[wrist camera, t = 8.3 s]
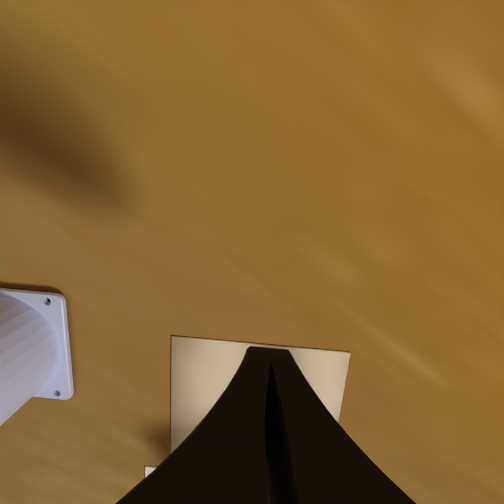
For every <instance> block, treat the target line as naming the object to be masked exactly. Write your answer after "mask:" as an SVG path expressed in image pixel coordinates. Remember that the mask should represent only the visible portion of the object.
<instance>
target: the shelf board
mask: <svg viewBox="0 0 504 504" xmlns="http://www.w3.org/2000/svg"><path fill="white" fill-rule="evenodd" d="M250 346H257V347H267V348H277V349H288V350H289V351H290V353H291V354H292V356H293V358H294V360H295V361H296V363H297V365H298V366H299V368H300V370H301V371H302V373H303V375H304V376H305V378H306V379H307V381H308V382H309V384H310V385H311V387H312V388H313V390H314V391H315V393H316V394H317V396H318V397H319V398H320V400H321V401H322V403H323V404H324V405H325V407H326V408H327V409H328V411H329V412H330V413H331V415H332V416H333V417H334V418H335V420H336V421H337V422H338V419H339V414H340V408H341V403H342V397H343V392H344V386H345V381H346V375H347V369H348V364H349V358H350V352H344V351H333V350H322V349H311V348H301V347H290V346H279V345H268V344H258V343H247V342H236V341H225V340H215V339H204V338H193V337H182V336H172V353H171V453H172V452H173V451H174V450H175V449H176V448H177V447H178V446H179V445H180V444H181V443H182V442H183V441H184V440H185V439H186V438H187V437H188V435H189V434H190V433H191V432H192V431H193V430H194V429H195V428H196V426H197V425H198V424H199V423H200V422H201V421H202V419H203V418H204V417H205V416H206V415H207V413H208V412H209V411H210V410H211V408H212V407H213V406H214V404H215V403H216V401H217V400H218V399H219V397H220V396H221V395H222V393H223V392H224V390H225V389H226V388H227V386H228V384H229V383H230V381H231V380H232V378H233V376H234V375H235V373H236V371H237V370H238V368H239V366H240V364H241V362H242V360H243V358H244V355H245V353H246V349H247V348H248V347H250Z"/></svg>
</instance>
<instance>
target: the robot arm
mask: <svg viewBox="0 0 504 504" xmlns="http://www.w3.org/2000/svg"><path fill="white" fill-rule="evenodd" d="M47 298H48V299H49V300H50V301H51V303H50V302H49V301H48V299H47ZM73 393H74V388H73V377H72V366H71V355H70V344H69V333H68V322H67V311H66V301H65V298H64V296H63V295H61V294H59V293H51V292H39V291H28V290H17V289H6V288H0V426H1V425H2V424H3V423H4V422H5V421H6V420H7V419H8V418H9V417H11V416H12V415H13V414H14V413H15V412H16V411H17V410H18V409H19V408H20V407H21V406H23V405H24V404H25V403H26V402H27V401H28V400H29V399H30V398H31V397H32V396H34V397H44V398H54V399H64V400H66V399H69V398H70V397H71V396H72V395H73ZM116 504H416V503H415V502H414V501H413V500H412V499H410V498H409V497H408V496H407V495H406V494H405V493H404V492H403V491H402V490H401V489H400V488H399V487H398V486H397V485H396V484H395V483H394V482H393V481H392V480H391V479H390V478H388V477H387V476H386V475H385V474H384V473H383V472H382V471H381V470H380V469H379V468H378V467H377V466H376V465H375V464H374V463H373V462H372V461H371V460H370V459H369V458H368V456H367V455H366V454H365V453H364V452H363V451H362V450H361V449H360V448H359V447H358V446H357V444H356V443H355V442H354V441H353V440H352V439H351V438H350V437H349V436H348V434H347V433H346V432H345V431H344V430H343V428H342V427H341V426H340V425H339V423H338V422H337V421H336V420H335V418H334V417H333V416H332V415H331V413H330V412H329V411H328V409H327V408H326V407H325V405H324V404H323V403H322V401H321V400H320V398H319V397H318V396H317V394H316V393H315V391H314V390H313V388H312V387H311V385H310V384H309V382H308V381H307V379H306V378H305V376H304V375H303V373H302V371H301V370H300V368H299V366H298V365H297V363H296V361H295V360H294V358H293V356H292V354H291V353H290V351H289V350H288V349H277V348H267V347H257V346H250V347H248V348H247V349H246V353H245V355H244V358H243V360H242V362H241V364H240V366H239V368H238V370H237V371H236V373H235V375H234V376H233V378H232V380H231V381H230V383H229V384H228V386H227V388H226V389H225V390H224V392H223V393H222V395H221V396H220V397H219V399H218V400H217V401H216V403H215V404H214V406H213V407H212V408H211V410H210V411H209V412H208V413H207V415H206V416H205V417H204V418H203V419H202V421H201V422H200V423H199V424H198V425H197V426H196V428H195V429H194V430H193V431H192V432H191V433H190V434H189V435H188V437H187V438H186V439H185V440H184V441H183V442H182V443H181V444H180V445H179V446H178V447H177V448H176V449H175V450H174V451H173V452H172V453H171V454H170V455H169V456H168V457H167V458H166V459H165V460H164V461H163V462H162V463H161V464H160V465H159V466H158V467H157V468H156V469H155V470H154V471H152V472H151V473H150V474H149V475H148V476H147V477H146V478H144V479H143V480H142V481H141V482H140V483H139V484H138V485H136V486H135V487H134V488H133V489H132V490H131V491H130V492H128V493H127V494H126V495H125V496H124V497H123V498H122V499H120V500H119V501H118V502H117V503H116Z"/></svg>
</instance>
